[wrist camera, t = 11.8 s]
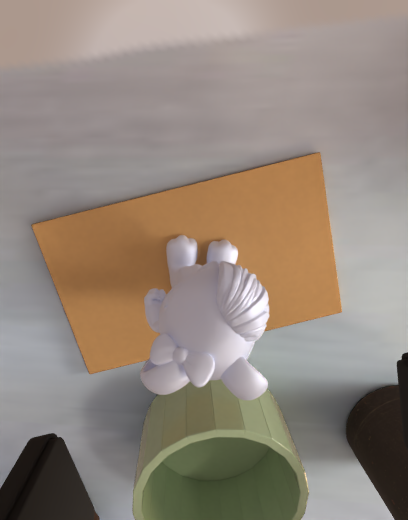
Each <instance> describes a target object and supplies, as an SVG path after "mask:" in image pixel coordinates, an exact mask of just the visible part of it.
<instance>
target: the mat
mask: <svg viewBox="0 0 408 520" xmlns="http://www.w3.org/2000/svg"><path fill="white" fill-rule="evenodd" d="M31 226H32V228H33V231H34V233H35V236H36V238H37V241H38V244H39V246H40V249H41V251H42V254H43V256H44V259H45V261H46V264H47V267H48V269H49V272H50V274H51V277H52V279H53V282H54V284H55V287H56V290H57V292H58V295H59V297H60V300H61V302H62V305H63V307H64V310H65V313H66V315H67V318H68V320H69V323H70V325H71V328H72V330H73V333H74V336H75V338H76V341H77V343H78V346H79V348H80V351H81V353H82V356H83V359H84V361H85V364H86V366H87V369H88V371H89V374H93V373H97V372H101V371H105V370H109V369H113V368H117V367H121V366H125V365H129V364H133V363H138V362H142V361H146V360H149V358H150V351H151V347H152V344H153V342H154V340H155V339H156V338H157V337H158V336H159V335H160V333H157V332H155V331H153V330H152V329H151V327H150V326H149V324H148V321H147V319H146V314H145V304H144V297H145V296H146V295H147V293H148V291H149V290H150V289H153V288H157V289H158V290H160V289H163V290H164V291H165V294H168V292H169V291H170V290H171V289H172V287H171V283H170V275H169V268H168V263H167V253H166V247H167V243H168V242H169V241H170V240H171V239H176V238H177V237H178V236H180V235H185V236H186V237H187V238H193V239H195V240H196V242H197V247H198V254H197V260H196V263H195V264H199V265H201V266H203V265H205V264H207V252H208V247H209V244H210V243H211V242H212V241H218V242H219V241H221V240H223V239H225V240H228V241H229V242H230V243H231V245H234V246H235V247H236V248H237V250H238V257H237V261H236V264H235V265H241V267H242V269H245V268H246V269H247V270H248V273H251V274H255V275H256V279H257V280H259V281H260V283H261V285H262V286H264V287H265V289H266V291H267V293H268V298H269V301H268V304H269V318H268V321H267V322H266V328H265V330H264V331H267V330H271V329H275V328H279V327H284V326H288V325H292V324H296V323H300V322H304V321H308V320H312V319H316V318H320V317H324V316H328V315H332V314H336V313H340V312H342V309H341V301H340V294H339V287H338V279H337V272H336V265H335V258H334V250H333V243H332V236H331V228H330V221H329V214H328V206H327V199H326V192H325V184H324V177H323V170H322V163H321V155H320V152H319V153H314V154H310V155H306V156H302V157H298V158H294V159H290V160H286V161H282V162H278V163H274V164H270V165H266V166H262V167H258V168H254V169H250V170H247V171H243V172H239V173H235V174H231V175H227V176H223V177H219V178H215V179H211V180H207V181H203V182H199V183H195V184H191V185H187V186H183V187H179V188H175V189H171V190H167V191H163V192H159V193H155V194H151V195H147V196H143V197H139V198H135V199H131V200H127V201H123V202H119V203H115V204H111V205H107V206H103V207H99V208H95V209H91V210H87V211H83V212H79V213H75V214H71V215H67V216H63V217H59V218H55V219H51V220H47V221H43V222H39V223H35V224H32V225H31Z"/></svg>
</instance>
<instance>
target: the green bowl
mask: <svg viewBox="0 0 408 520" xmlns="http://www.w3.org/2000/svg"><path fill="white" fill-rule="evenodd" d="M308 495H309V489H308V484H307V479H306V474H305V470H304V467H303V465H302V462H301V460H300V457H299V455H298V452H297V450H296V447H295V445H294V442H293V440H292V437H291V435H290V432H289V430H288V427H287V425H286V422H285V420H284V417H283V415H282V412H281V410H280V407H279V405H278V404H277V402H276V400H275V398H274V397H273V395H272V394H271V392H270V391H269V390H268V389H266V391H265V392H264V393H263V394H262V395H261V396H259V397H258V398H256V399H253V400H242V399H239V398H237V397H236V396H235V395H234V394H233V393H232V392H231V391H230V390H229V389H228V388H227V387H226V386H225V384H224V383H223V381H222V380H209V381H208V383H207V384H206V385H205V386H203V387H196V386H194V385H193V384H192V383H191V382H189V383H187V384H186V385H185V386H184V387H182V388H181V389H179V390H177V391H175V392H173V393H170V394H167V395H159V394H158V395H157V396H156V397H155V399H154V400H153V402H152V403H151V405H150V407H149V409H148V412H147V414H146V418H145V420H144V425H143V431H142V438H141V444H140V450H139V457H138V463H137V470H136V476H135V482H134V489H133V515H134V518H135V520H301V518H302V517H303V515H304V513H305V509H306V504H307V499H308Z"/></svg>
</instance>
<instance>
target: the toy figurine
mask: <svg viewBox="0 0 408 520" xmlns="http://www.w3.org/2000/svg"><path fill="white" fill-rule="evenodd" d="M166 253H167V263H168V268H169V275H170V283H171V287H172V289H171V290H170V291H169V292H168V294H165V291H164V290H163V289H160V290H158V289H157V288H153V289H150V290H149V291H148V293H147V295H146V296H145V297H144V304H145V314H146V319H147V321H148V324H149V326H150V327H151V329H152V330H153V331H155V332H157V333H160V335H159V336H158V337H157V338H156V339H155V340H154V342H153V344H152V347H151V351H150V358H149V360H148V361H147V362H146V364H145V365H144V367H143V368H142V370H141V373H140V377H141V380H142V382H143V384H144V385H145V386H146V388H147V389H149V390H150V391H151V392H153V393H155V394H159V395H167V394H170V393H173V392H175V391H177V390H179V389H181V388H182V387H184V386H185V385H186V384H187V383H189V382H191V383H192V384H193V385H194V386H196V387H203V386H205V385H206V384H207V383H208V381H209V380H222V381H223V383H224V384H225V386H226V387H227V388H228V389H229V390H230V391H231V392H232V393H233V394H234V395H235V396H236V397H237V398H239V399H242V400H253V399H256V398H258V397H259V396H261V395H262V394H263V393H264V392H265V391H266V389H267V387H268V381H267V380H266V378H265V377H264V376H263V375H262V374H261V373H260V372H259V371H257V370H256V369H255V368H254V367H253V366H252V365H251V364H250V363H249V362H248V361H247V358H248V357H249V355H250V353H251V351H252V349H253V346H254V343H255V341H256V340H258V339H259V338H260V337H261V335H262V334H263V332H264V330H265V328H266V322H267V321H268V318H269V304H268V301H269V298H268V293H267V291H266V289H265V287H264V286H262V285H261V283H260V281H259V280H257V279H256V275H255V274H251V273H248V270H247V269H246V268H245V269H242V267H241V265H235V264H236V261H237V257H238V250H237V248H236V247H235V246H234V245H231V243H230V242H229V241H228V240H225V239H223V240H221V241H219V242H218V241H212V242H211V243H210V244H209V247H208V252H207V264H205V265H203V266H201V265H199V264H195V263H196V260H197V254H198V247H197V242H196V240H195V239H193V238H187V237H186V236H185V235H180V236H178V237H177V238H176V239H171V240H170V241H169V242H168V243H167V247H166Z"/></svg>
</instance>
